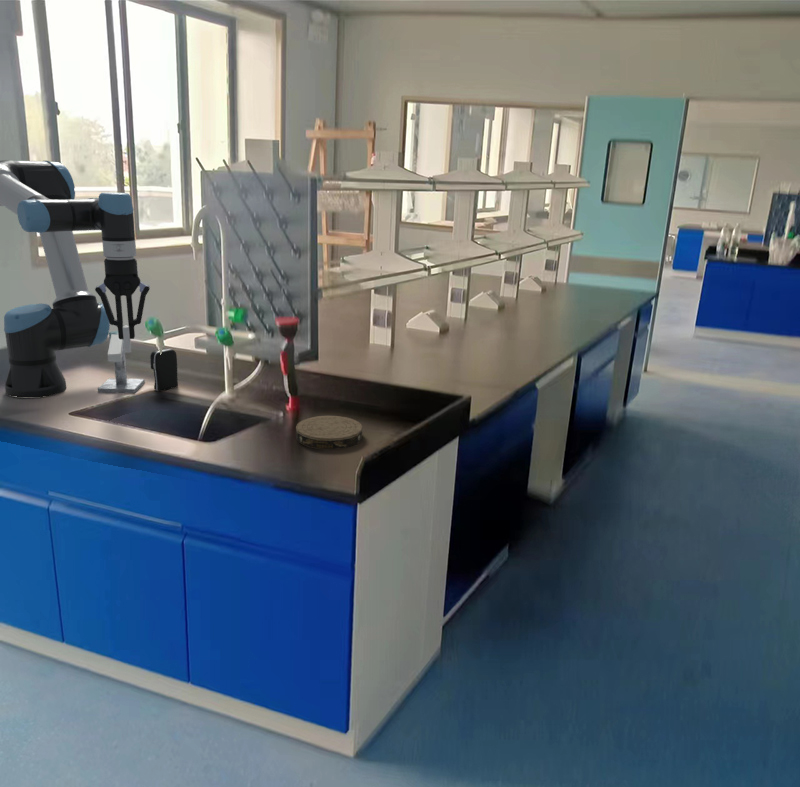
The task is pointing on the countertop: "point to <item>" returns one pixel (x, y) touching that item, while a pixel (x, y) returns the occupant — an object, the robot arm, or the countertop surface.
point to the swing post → (121, 380)
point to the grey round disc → (329, 432)
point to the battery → (164, 369)
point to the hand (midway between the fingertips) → (128, 351)
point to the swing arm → (115, 347)
